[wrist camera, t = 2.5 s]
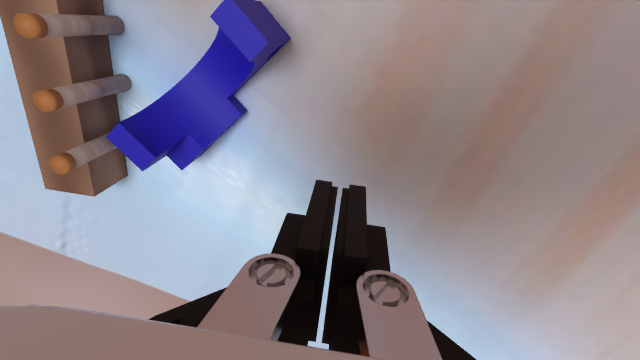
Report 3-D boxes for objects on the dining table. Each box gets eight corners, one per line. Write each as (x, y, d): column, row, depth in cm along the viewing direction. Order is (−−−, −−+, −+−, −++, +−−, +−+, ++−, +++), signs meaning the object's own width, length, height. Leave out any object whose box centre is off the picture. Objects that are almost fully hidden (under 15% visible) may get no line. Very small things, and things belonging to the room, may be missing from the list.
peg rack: (115, -40, 23) (14, -65, 16) (142, 177, 30) (79, 221, 23) (40, -48, 23) (-89, -76, 17) (84, 168, 30) (4, 209, 24)
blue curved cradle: (199, 156, 28) (159, 187, 23) (157, 114, 27) (105, 137, 22) (305, 55, 24) (287, 65, 19) (261, 1, 23) (228, -5, 18)
